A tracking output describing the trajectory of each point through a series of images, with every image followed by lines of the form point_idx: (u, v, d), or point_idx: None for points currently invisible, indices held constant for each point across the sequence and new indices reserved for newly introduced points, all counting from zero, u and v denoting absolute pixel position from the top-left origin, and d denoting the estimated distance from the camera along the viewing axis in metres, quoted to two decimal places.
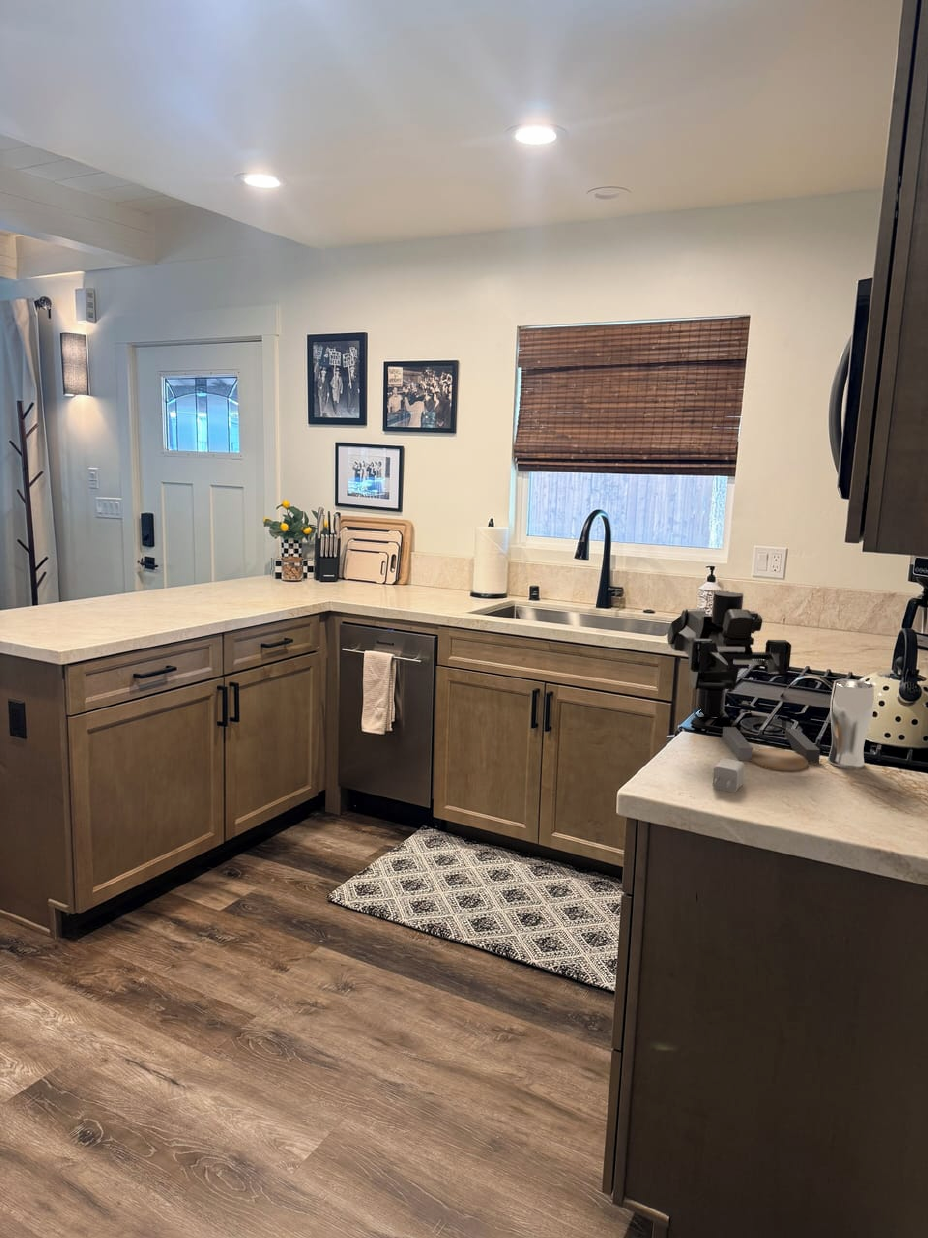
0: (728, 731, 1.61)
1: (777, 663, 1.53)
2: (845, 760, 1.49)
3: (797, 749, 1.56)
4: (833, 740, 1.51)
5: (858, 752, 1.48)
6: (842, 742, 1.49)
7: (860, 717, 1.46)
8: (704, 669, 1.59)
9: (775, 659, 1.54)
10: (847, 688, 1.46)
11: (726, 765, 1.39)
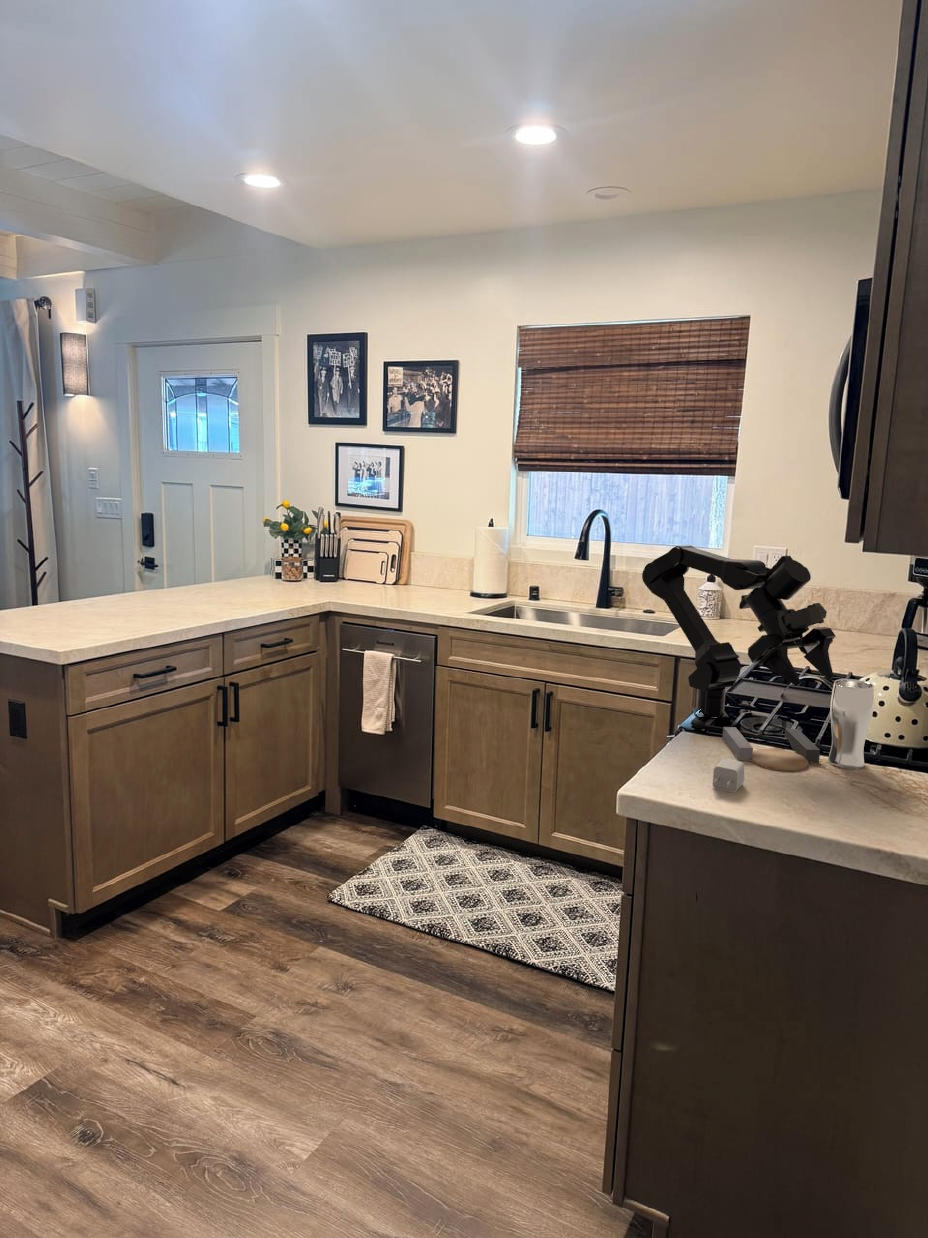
0: (728, 731, 1.61)
1: (831, 672, 1.58)
2: (845, 760, 1.49)
3: (797, 749, 1.56)
4: (833, 740, 1.51)
5: (858, 752, 1.48)
6: (842, 742, 1.49)
7: (860, 717, 1.46)
8: (764, 663, 1.57)
9: (828, 664, 1.58)
10: (847, 688, 1.46)
11: (726, 765, 1.39)
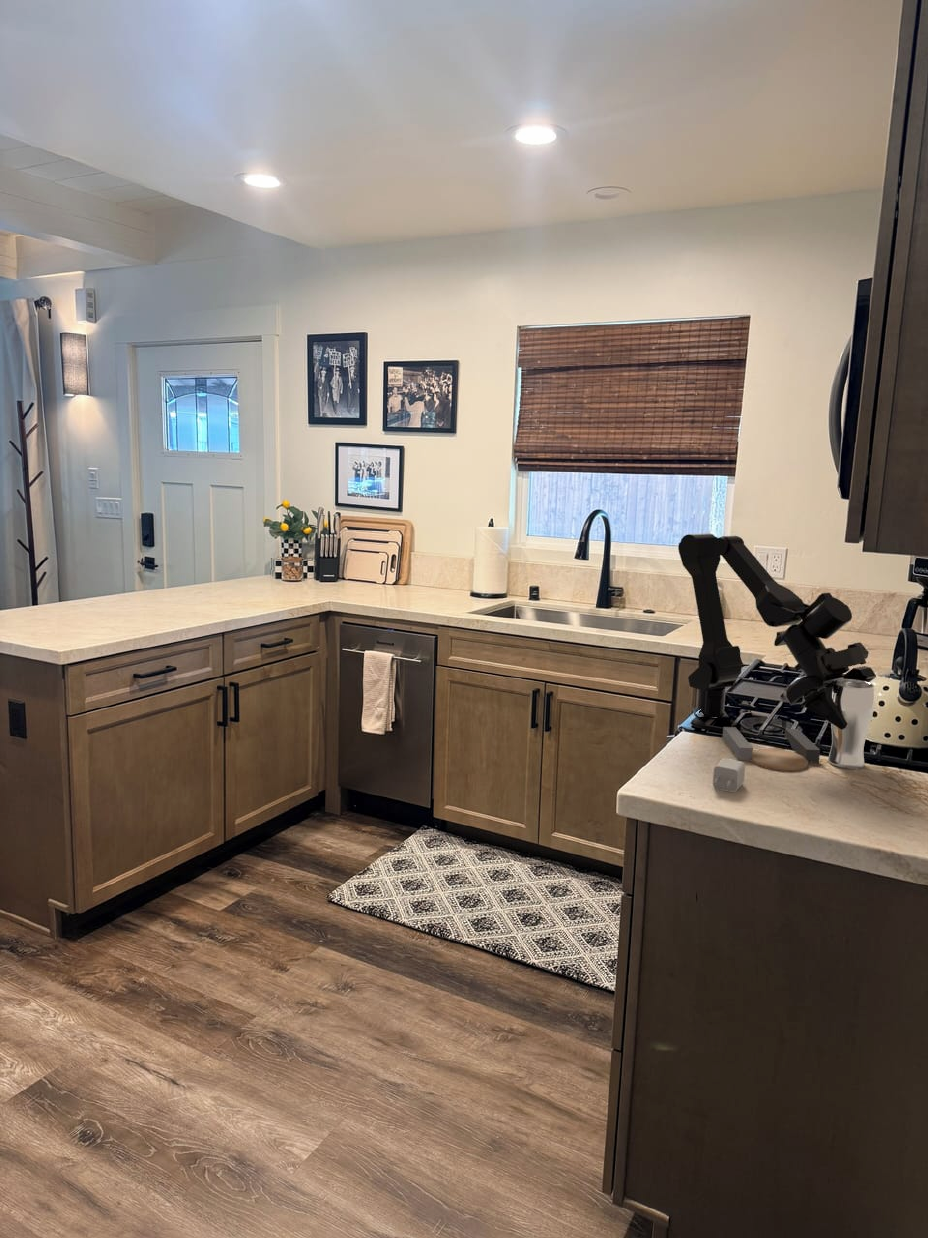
0: (728, 731, 1.61)
1: None
2: (845, 760, 1.49)
3: (797, 749, 1.56)
4: (833, 740, 1.51)
5: (858, 752, 1.48)
6: (842, 742, 1.49)
7: (860, 717, 1.46)
8: (807, 705, 1.51)
9: None
10: (847, 688, 1.46)
11: (726, 765, 1.39)
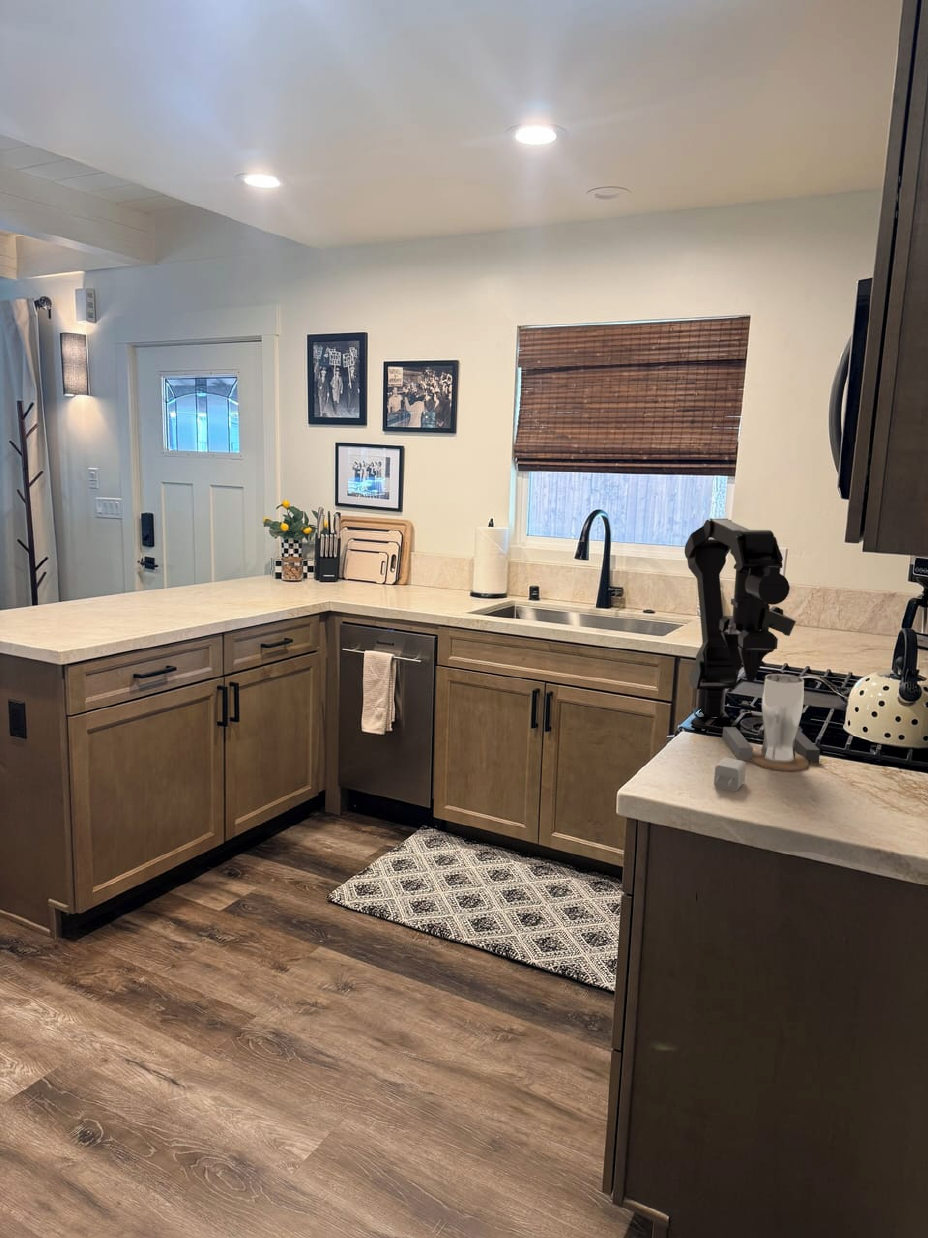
0: (728, 731, 1.61)
1: None
2: (770, 753, 1.50)
3: (797, 749, 1.56)
4: (764, 733, 1.52)
5: (784, 746, 1.49)
6: (768, 735, 1.50)
7: (782, 711, 1.47)
8: None
9: None
10: (770, 681, 1.48)
11: (727, 764, 1.39)
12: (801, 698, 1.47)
